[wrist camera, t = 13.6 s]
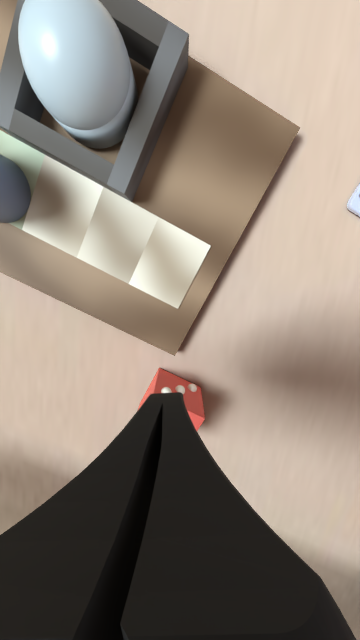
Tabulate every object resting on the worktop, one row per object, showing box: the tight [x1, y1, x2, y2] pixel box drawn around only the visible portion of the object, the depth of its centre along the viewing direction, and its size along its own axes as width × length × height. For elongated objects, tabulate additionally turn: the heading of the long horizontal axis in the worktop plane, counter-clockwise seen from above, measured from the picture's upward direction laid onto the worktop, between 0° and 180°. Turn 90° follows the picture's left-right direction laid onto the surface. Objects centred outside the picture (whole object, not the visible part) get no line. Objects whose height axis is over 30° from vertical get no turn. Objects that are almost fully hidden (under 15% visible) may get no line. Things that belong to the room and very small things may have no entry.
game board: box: [0, 0, 300, 356], centre depth 14 cm, size 17×23×3 cm
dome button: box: [18, 0, 138, 149], centre depth 11 cm, size 5×5×5 cm
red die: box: [138, 368, 205, 431], centre depth 18 cm, size 4×4×4 cm
